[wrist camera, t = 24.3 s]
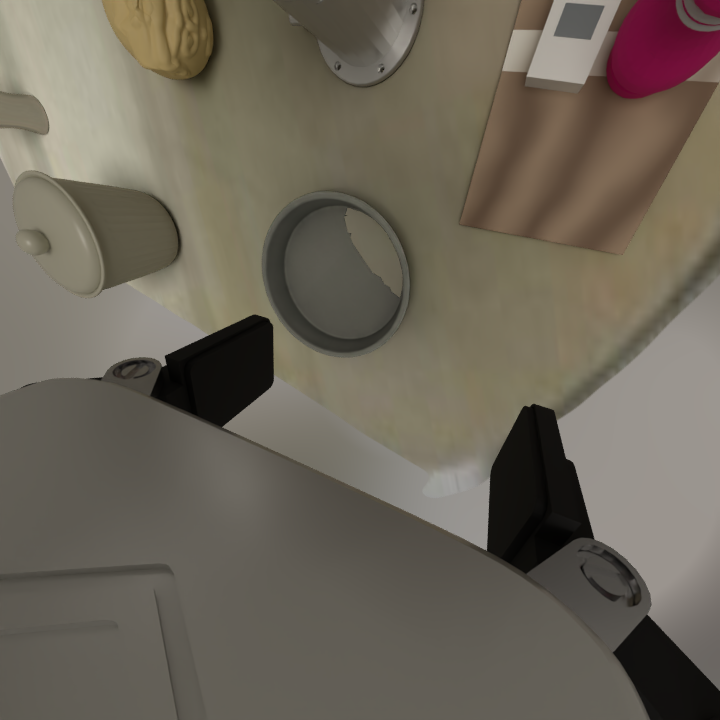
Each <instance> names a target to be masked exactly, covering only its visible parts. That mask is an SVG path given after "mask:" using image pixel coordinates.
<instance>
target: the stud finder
mask: <svg viewBox="0 0 720 720" xmlns="http://www.w3.org/2000/svg"><path fill="white" fill-rule="evenodd" d="M620 2H621V0H554V2H553V4H552V7H551V10H550V13H549V16H548V18H547V21H546V24H545V27H544V29H543V32H542V35H541V38H540V40H539V43H538V46H537V49H536V52H535V54H534V57H533V60H532V63H531V65H530V68H529V71H528V74H527V76H526V82H525V86H528V87H535V88H542V89H549V90H556V91H563V92H570V93H577V94H578V92H579V91H580V90H581V88H582V87H583V85H584V84H585V81H586V79H587V77H588V75H589V72H590V70H591V68H592V66H593V63H594V61H595V59H596V56H597V54H598V52H599V50H600V47H601V45H602V43H603V41H604V38H605V36H606V34H607V32H608V29H609V27H610V25H611V22H612V20H613V18H614V16H615V13H616V11H617V9H618V7H619V4H620Z"/></svg>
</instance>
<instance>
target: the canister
mask: <svg viewBox="0 0 720 720" xmlns="http://www.w3.org/2000/svg"><path fill="white" fill-rule="evenodd" d="M13 210H14V215H15V219H16V223H17V226H18V229H19V232H18V233H17V234H16V242H17V244H18V246H19V247H20V248H21V249H22V250H23V251H24V252H26V253H28V254H30V255H32V256H33V257H34V259H35V260H36V262H37V263H38V264H39V265H40V267H41V268H42V269H43V270H44V271H45V272H46V273H47V274H48V275H49V276H50V277H51V278H52V279H53V280H54V281H55V282H56V283H58V284H59V285H61V286H62V287H63V288H65V289H66V290H68V291H69V292H71V293H72V294H74V295H77V296H79V297H83V298H93V297H96V296H97V295H99V294H100V293H101V292H102V290H104V289H108V288H111V287H114V286H116V285H119V284H122V283H125V282H128V281H131V280H134V279H137V278H140V277H142V276H145V275H148V274H150V273H153V272H156V271H158V270H161V269H163V268H165V267H167V266H168V265H169V264H170V263H172V262H173V260H174V259H175V257H176V255H177V250H178V244H179V243H178V237H177V232H176V228H175V226H174V223H173V221H172V218H171V217H170V216H169V213H168V212H167V211H166V209H165V208H164V207H163V206H162V205H161V204H160V203H159V202H158V201H157V200H156V199H154V198H152V197H151V196H149V195H147V194H145V193H142V192H139V191H135V190H130V189H124V188H119V187H113V186H107V185H100V184H93V183H86V182H79V181H72V180H65V179H58V178H52V177H50V176H48V175H46V174H44V173H41V172H38V171H25V172H23V173H22V174H21V175H20V176H19V177H18V178H17V180H16V183H15V188H14V194H13Z"/></svg>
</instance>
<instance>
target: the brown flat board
mask: <svg viewBox="0 0 720 720" xmlns="http://www.w3.org/2000/svg"><path fill="white" fill-rule="evenodd" d="M637 1H638V0H621V2H620V4H619V7H618V9H617V11H616V13H615V16H614V18H613V20H612V22H611V25H610V27H609V29H608V32H607V34H606V36H605V38H604V41H603V43H602V45H601V47H600V50H599V52H598V54H597V56H596V59H595V61H594V63H593V66H592V68H591V70H590V72H589V75H588V77H587V79H586V81H585V84H584V85H583V87H582V88H581V90H580V91H579V92H578V94H577V93H570V92H563V91H556V90H549V89H542V88H535V87H528V86H525V82H526V76H527V74H528V71H529V68H530V65H531V63H532V60H533V57H534V54H535V52H536V49H537V46H538V43H539V40H540V38H541V35H542V32H543V29H544V27H545V24H546V21H547V18H548V16H549V13H550V10H551V7H552V4H553V2H554V0H522V1H521V4H520V8H519V12H518V15H517V19H516V22H515V26H514V30H513V33H512V37H511V40H510V44H509V48H508V51H507V55H506V58H505V62H504V65H503V69H502V73H501V76H500V80H499V83H498V87H497V91H496V94H495V98H494V101H493V105H492V109H491V112H490V116H489V119H488V123H487V127H486V130H485V134H484V137H483V141H482V144H481V148H480V152H479V155H478V159H477V162H476V166H475V170H474V173H473V177H472V180H471V184H470V188H469V191H468V195H467V198H466V202H465V206H464V209H463V213H462V216H461V220H460V223H459V224H460V225H465V226H471V227H476V228H481V229H487V230H492V231H497V232H503V233H508V234H513V235H519V236H524V237H530V238H535V239H540V240H546V241H551V242H556V243H562V244H567V245H572V246H578V247H583V248H588V249H594V250H599V251H604V252H610V253H615V254H621V255H623V254H624V252H625V250H626V248H627V247H628V245H629V243H630V241H631V239H632V238H633V236H634V234H635V232H636V230H637V229H638V227H639V225H640V223H641V221H642V220H643V218H644V216H645V214H646V212H647V211H648V209H649V207H650V205H651V203H652V202H653V200H654V198H655V196H656V194H657V193H658V191H659V189H660V187H661V186H662V184H663V182H664V180H665V178H666V177H667V175H668V173H669V171H670V169H671V168H672V166H673V164H674V162H675V160H676V159H677V157H678V155H679V153H680V151H681V150H682V148H683V146H684V144H685V142H686V141H687V139H688V137H689V135H690V133H691V132H692V130H693V128H694V126H695V124H696V123H697V121H698V119H699V117H700V115H701V114H702V112H703V110H704V108H705V107H706V105H707V103H708V101H709V99H710V98H711V96H712V94H713V92H714V90H715V89H716V87H717V85H718V83H719V81H720V51H719V52H718V54H717V55H716V56H715V57H714V58H713V59H711V60H710V61H709V62H708V63H707V64H706V65H705V66H704V67H703V68H702V69H700V70H699V71H698V72H697V73H695V74H694V75H693V76H691V77H690V78H688V79H687V80H686V81H684V82H682V83H680V84H678V85H677V86H675V87H672V88H670V89H667V90H665V91H661V92H657V93H654V94H652V95H649V96H646V97H643V98H637V99H628V98H623V97H621V96H619V95H617V94H616V93H615V92H613V90H612V89H611V88H610V86H609V84H608V80H607V73H606V69H607V62H608V58H609V55H610V52H611V50H612V48H613V45H614V43H615V39H616V36H617V34H618V31H619V29H620V27H621V25H622V23H623V21H624V19H625V17H626V16H627V14H628V13H629V11H630V10H631V8H632V7H633V6H634V4H635V3H636V2H637Z"/></svg>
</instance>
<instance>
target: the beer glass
mask: <svg viewBox="0 0 720 720" xmlns="http://www.w3.org/2000/svg"><path fill="white" fill-rule="evenodd" d="M5 128H14V129H22V130H27V131H31V132H34V133H37V134H41V135H45V134H47V132H48V129H49V124H48V119H47V115H46V113H45V110H44V108H43V107H42V105H41V104H40V102H39V101H38V100H37V99H36V98H35V97H33V96H31V95H26V94H11V93H6V92H2V91H0V129H5Z"/></svg>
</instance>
